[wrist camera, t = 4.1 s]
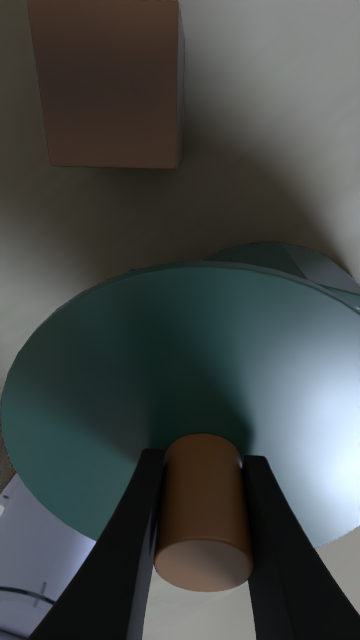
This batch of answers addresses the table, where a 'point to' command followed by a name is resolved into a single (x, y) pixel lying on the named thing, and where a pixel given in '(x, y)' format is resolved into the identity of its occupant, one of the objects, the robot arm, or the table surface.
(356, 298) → the pot
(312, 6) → the table surface
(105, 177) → the table surface
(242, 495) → the lid
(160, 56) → the block
